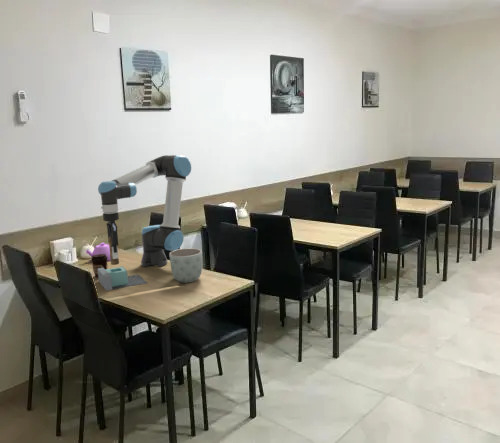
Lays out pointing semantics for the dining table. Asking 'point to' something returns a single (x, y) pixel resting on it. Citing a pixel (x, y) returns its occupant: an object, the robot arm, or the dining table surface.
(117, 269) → the block
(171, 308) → the dining table surface
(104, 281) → the jig
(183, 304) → the dining table surface
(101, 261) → the coffee cup
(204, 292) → the dining table surface
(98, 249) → the teapot
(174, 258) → the planter
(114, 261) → the dowel
